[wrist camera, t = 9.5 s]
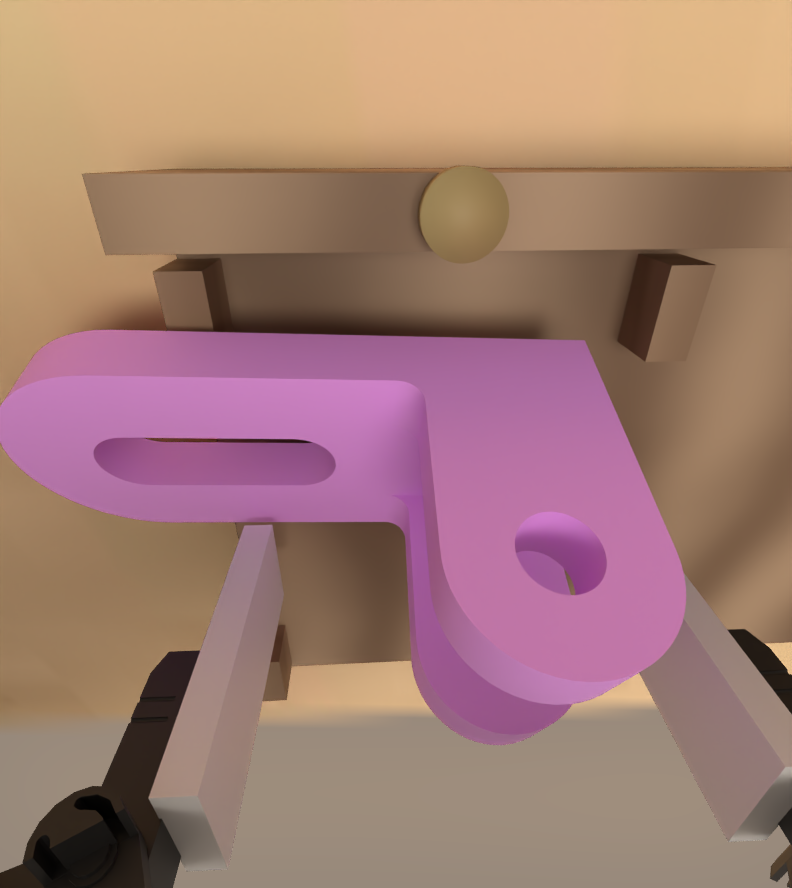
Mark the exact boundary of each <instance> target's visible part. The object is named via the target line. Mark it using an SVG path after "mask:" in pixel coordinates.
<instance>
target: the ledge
mask: <svg viewBox="0 0 792 888" xmlns="http://www.w3.org/2000/svg"><path fill="white" fill-rule="evenodd" d="M82 176H83V179H84V183H85V186H86V190H87V193H88V196H89V200H90V203H91V207H92V210H93V214H94V217H95V221H96V224H97V228H98V231H99V234H100V238H101V241H102V245H103V248H104V252H105V255H148V254H176V255H177V259H176V260H174V261H172V262H170V263H168V264H166V265H165V266H163V267H161V268H159V269H157V270H155V271H153V275H154V279H155V283H156V287H157V291H158V295H159V299H160V303H161V307H162V311H163V315H164V319H165V323H166V328H167V331H190V332H235V333H280V334H324V335H369V336H414V337H459V338H503V339H548V340H585V342H586V344H587V346H588V349H589V351H590V353H591V356H592V358H593V360H594V363H595V365H596V367H597V369H598V372H599V374H600V376H601V379H602V381H603V383H604V385H605V388H606V390H607V392H608V395H609V397H610V399H611V402H612V404H613V406H614V408H615V411H616V413H617V415H618V418H619V420H620V422H621V425H622V427H623V429H624V431H625V434H626V436H627V438H628V441H629V443H630V445H631V447H632V450H633V452H634V454H635V457H636V459H637V461H638V464H639V466H640V468H641V470H642V473H643V475H644V477H645V480H646V482H647V484H648V487H649V489H650V491H651V493H652V496H653V498H654V500H655V503H656V505H657V507H658V509H659V512H660V514H661V516H662V519H663V521H664V523H665V526H666V528H667V530H668V532H669V535H670V537H671V539H672V542H673V544H674V546H675V548H676V551H677V554H678V556H679V559H680V561H681V565H682V569H683V572H684V574H685V575H686V576H687V578H688V579H689V580H690V582H691V583H692V584H693V586H694V587H695V588H696V589H697V591H698V592H699V593H700V595H701V596H702V597H703V599H704V600H705V601H706V603H707V604H708V605H709V607H710V608H711V609H712V610H713V612H714V613H715V614H716V616H717V617H718V618H719V620H720V621H721V622H722V624H723V625H724V626H725V628H726V629H727V630H729V629H746V630H747V631H748V632H750V633H751V634H752V635H754V636H755V637H756V638H757V639H759V640H760V641H761V642H763V643H784V642H792V167H760V168H479V167H474V166H454V167H450V168H370V169H167V170H147V171H128V172H108V173H89V174H82ZM217 442H226V443H313V442H310V441H306V440H299V439H222V438H217ZM235 524H236V529H237V534H238V538H239V539H240V537H241V534H242V531H243V528H244V526H245V525H272V526H273V532H274V538H275V544H276V550H277V556H278V562H279V568H280V574H281V580H282V586H283V592H284V597H283V602H282V607H281V612H280V617H279V622H278V627H277V632H276V637H275V642H274V647H273V651H272V656H271V661H270V666H269V671H268V676H267V681H266V686H265V691H264V696H263V701H275V700H287V693H288V687H289V680H290V673H291V666H308V665H328V664H349V663H370V662H391V661H411V642H410V623H409V603H408V583H407V564H406V544H405V535H404V533H403V531H402V530H401V528H400V527H399V526H397V525H395V524H393V523H390V522H235ZM564 571H565V575H566V579H567V583H568V586H569V590H570V594H571V595H575V589H574V585H573V582H572V580H571V578H570V576H569V575H568V573H567V572H566V570H565V569H564Z"/></svg>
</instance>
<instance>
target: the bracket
mask: <svg viewBox="0 0 792 888" xmlns="http://www.w3.org/2000/svg"><path fill="white" fill-rule="evenodd" d="M145 438H222V439H299V440H306V441H310V442H313V443H226V442H158V441H153V440H149V439H145ZM0 443H1V445H2V447H3V449H4V450H5V452H6V453H7V454H8V456H9V457H10V458H11V459H12V460H13V462H14V463H15V464H16V465H17V466H18V467H19V468H20V469H22V470H23V471H24V472H25V473H26V474H27V475H29V476H30V477H31V478H33V479H34V480H35V481H37V482H38V483H40V484H41V485H43V486H44V487H46V488H48V489H50V490H51V491H53V492H55V493H57V494H59V495H61V496H63V497H65V498H67V499H69V500H72V501H74V502H76V503H79V504H81V505H84V506H87V507H89V508H92V509H95V510H98V511H102V512H105V513H109V514H113V515H117V516H121V517H126V518H132V519H137V520H145V521H155V522H390V523H393V524H395V525H397V526H399V527H400V528H401V530H402V531H403V533H404V535H405V544H406V564H407V583H408V603H409V623H410V642H411V660H412V668H413V673H414V677H415V680H416V683H417V686H418V688H419V690H420V693H421V695H422V697H423V698H424V700H425V702H426V703H427V705H428V706H429V708H430V709H431V710H432V712H433V713H434V714H435V715H436V716H437V717H438V718H439V719H440V720H441V721H442V722H443V723H444V724H445V725H446V726H448V727H449V728H450V729H451V730H453V731H454V732H456V733H458V734H459V735H461V736H463V737H465V738H467V739H470V740H473V741H476V742H479V743H483V744H490V745H506V744H513V743H516V742H519V741H523V740H525V739H527V738H529V737H531V736H532V735H534V734H536V733H538V732H539V731H541V730H543V729H544V728H546V727H548V726H549V725H551V724H552V723H554V722H556V721H557V720H558V719H559V718H561V717H562V716H563V715H564V714H565V713H566V712H567V710H568V709H569V708H570V707H571V705H572V704H574V703H580V702H584V701H587V700H590V699H593V698H595V697H597V696H600V695H602V694H604V693H605V692H607V691H609V690H610V689H612V688H614V687H616V686H617V685H619V684H621V683H622V682H624V681H626V680H627V679H629V678H631V677H632V676H634V675H636V674H638V673H639V672H641V671H643V670H644V669H646V668H647V667H649V666H650V665H652V664H654V663H655V662H656V661H657V660H658V659H659V658H660V657H662V656H663V655H664V654H665V652H666V651H667V650H668V649H669V648H670V646H671V645H672V643H673V642H674V640H675V638H676V637H677V635H678V633H679V630H680V628H681V625H682V622H683V618H684V614H685V607H686V584H685V578H684V572H683V569H682V565H681V561H680V559H679V556H678V554H677V551H676V548H675V546H674V544H673V542H672V539H671V537H670V535H669V532H668V530H667V528H666V526H665V523H664V521H663V519H662V516H661V514H660V512H659V509H658V507H657V505H656V503H655V500H654V498H653V496H652V493H651V491H650V489H649V487H648V484H647V482H646V480H645V477H644V475H643V473H642V470H641V468H640V466H639V464H638V461H637V459H636V457H635V454H634V452H633V450H632V447H631V445H630V443H629V441H628V438H627V436H626V434H625V431H624V429H623V427H622V425H621V422H620V420H619V418H618V415H617V413H616V411H615V408H614V406H613V404H612V402H611V399H610V397H609V395H608V392H607V390H606V388H605V385H604V383H603V381H602V379H601V376H600V374H599V372H598V369H597V367H596V365H595V363H594V360H593V358H592V356H591V353H590V351H589V349H588V346H587V344H586V342H585V340H548V339H503V338H459V337H414V336H369V335H324V334H280V333H235V332H190V331H145V330H91V331H82V332H77V333H73V334H69V335H66V336H63V337H60V338H57V339H55V340H53V341H51V342H49V343H48V344H46V345H45V346H44V347H42V348H41V349H40V350H39V351H38V352H37V353H36V354H35V355H34V356H33V357H32V359H31V360H30V362H29V363H28V365H27V366H26V368H25V369H24V371H23V372H22V374H21V375H20V377H19V379H18V380H17V382H16V383H15V385H14V386H13V388H12V389H11V391H10V392H9V394H8V395H7V397H6V398H5V400H4V401H3V403H2V404H1V406H0ZM564 569H565V570H566V572H567V573H568V575H569V576H570V578H571V580H572V582H573V585H574V589H575V595H571V594H570V590H569V586H568V583H567V579H566V575H565V571H564Z"/></svg>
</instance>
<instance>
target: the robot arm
mask: <svg viewBox="0 0 792 888" xmlns="http://www.w3.org/2000/svg"><path fill="white" fill-rule="evenodd" d="M684 578H685V584H686V607H685V614H684V618H683V622H682V625H681V628H680V630H679V633H678V635H677V637H676V638H675V640H674V642H673V643H672V645H671V646H670V648H669V649H668V650H667V651H666V652H665V654H664V655H663V656H662V657H660V658H659V659H658V660H657V661H656V662H655V663H654V664H652V665H650V666H649V667H647V668H646V669H644V670H643V671H641V672H639V673H640V675H641V677H642V679H643V681H644V683H645V685H646V686H647V688H648V690H649V692H650V694H651V696H652V698H653V700H654V702H655V704H656V706H657V707H658V709H659V711H660V713H661V715H662V717H663V719H664V721H665V723H666V725H667V726H668V728H669V730H670V732H671V734H672V736H673V738H674V740H675V742H676V744H677V745H678V747H679V749H680V751H681V753H682V755H683V757H684V759H685V761H686V763H687V764H688V766H689V768H690V770H691V772H692V774H693V776H694V778H695V780H696V782H697V784H698V785H699V787H700V789H701V791H702V793H703V795H704V797H705V799H706V801H707V803H708V805H709V806H710V808H711V810H712V812H713V814H714V816H715V818H716V820H717V821H718V824H719V825H720V827H721V829H722V831H723V833H724V835H725V837H726V839H727V841H728V842H733V841H753V840H767V838H768V837H769V836H770V835H771V834H772V832H773V831H774V830H775V829H776V828H777V827H778V825H779V826H780V827H781V829H782V831H783V832H784V834H785V836H786V837H787V839H788V840H789V842H790V845H789V846H788V847H787V849H786V850H785V851H784V852H783V853H782V854H781V855H780V856H779V857H778V858H777V859H776V861H775V862H774V863H773V864H772V866H771V873H770V879H772V880H774V881H776V882H777V881H778V880H779V879H780V878H781V877H782V876H783V875H784V874H785V873H786V872H787V871H788V875H789V881H788V883H787V887H789V888H792V675H791V674H788V672H787V669H786V667H785V666H784V665H783V664H782V663H781V661H780V660H779V659H778V658H777V656H776V655H775V654H774V653H773V652H772V650H771V649H770V648H769V647H768V646H766V645H765V644H764V643H763V642H761V641H760V640H759V639H757V638H756V637H755V636H754V635H752V634H751V633H750V632H748V631H747V630H746V629H729V630H727V629H726V628H725V626H724V625H723V624H722V622H721V621H720V620H719V618H718V617H717V616H716V614H715V613H714V612H713V610H712V609H711V608H710V607H709V605H708V604H707V603H706V601H705V600H704V599H703V597H702V596H701V595H700V593H699V592H698V591H697V589H696V588H695V587H694V586H693V584H692V583H691V582H690V580H689V579H688V578H687V576H686V575H685V574H684ZM283 597H284V592H283V586H282V580H281V574H280V568H279V562H278V556H277V550H276V544H275V538H274V532H273V526H272V525H245V526H244V528H243V531H242V534H241V537H240V539H239V542H238V545H237V548H236V551H235V554H234V556H233V559H232V562H231V565H230V568H229V571H228V574H227V576H226V579H225V582H224V585H223V588H222V591H221V593H220V596H219V599H218V602H217V605H216V608H215V610H214V613H213V616H212V619H211V622H210V625H209V627H208V630H207V633H206V636H205V639H204V642H203V645H202V647H201V650H200V651H177V652H169V653H168V654H167V655H166V656H165V657H164V658H163V659H162V661H161V662H160V663H159V664H158V665H157V666H156V668H155V669H154V670H153V671H152V672H151V673H150V676H149V678H148V680H147V683H146V685H145V687H144V690H143V692H142V694H141V696H140V702H139V703H137V706H136V708H135V710H134V713H133V715H132V717H131V723H129V724H128V726H127V729H126V731H125V733H124V736H123V738H122V740H121V743H120V745H119V747H118V750H117V752H116V754H115V756H114V759H113V761H112V763H111V766H110V768H109V770H108V773H107V775H106V777H105V780H104V782H103V784H102V786H92V787H89V788H85V789H82V790H80V791H77V792H74V793H73V794H71V795H70V796H68V797H67V798H65V799H64V800H62V801H61V802H59V803H58V804H56V805H55V806H54V807H53V808H52V809H51V811H50V812H49V813H48V814H47V815H46V816H45V817H44V818H43V819H42V820H41V821H40V822H39V824H38V826H37V827H36V829H35V831H34V833H33V834H32V836H31V838H30V839H29V841H28V843H27V847H26V851H25V855H24V859H23V864H21V865H19V866H16V867H14V868H12V869H9V870H7V871H4V872H1V873H0V888H173V885H174V881H175V877H176V873H177V870H178V866H179V863H180V860H181V862H182V864H183V865H184V867H185V869H186V871H202V870H221V869H228V867H229V862H230V858H231V852H232V848H233V843H234V838H235V833H236V828H237V823H238V818H239V813H240V808H241V804H242V798H243V793H244V789H245V784H246V779H247V774H248V769H249V764H250V759H251V754H252V750H253V745H254V740H255V735H256V730H257V725H258V720H259V715H260V710H261V705H262V701H263V696H264V691H265V686H266V681H267V676H268V671H269V666H270V661H271V656H272V651H273V647H274V642H275V637H276V632H277V627H278V622H279V617H280V612H281V607H282V602H283Z"/></svg>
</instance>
